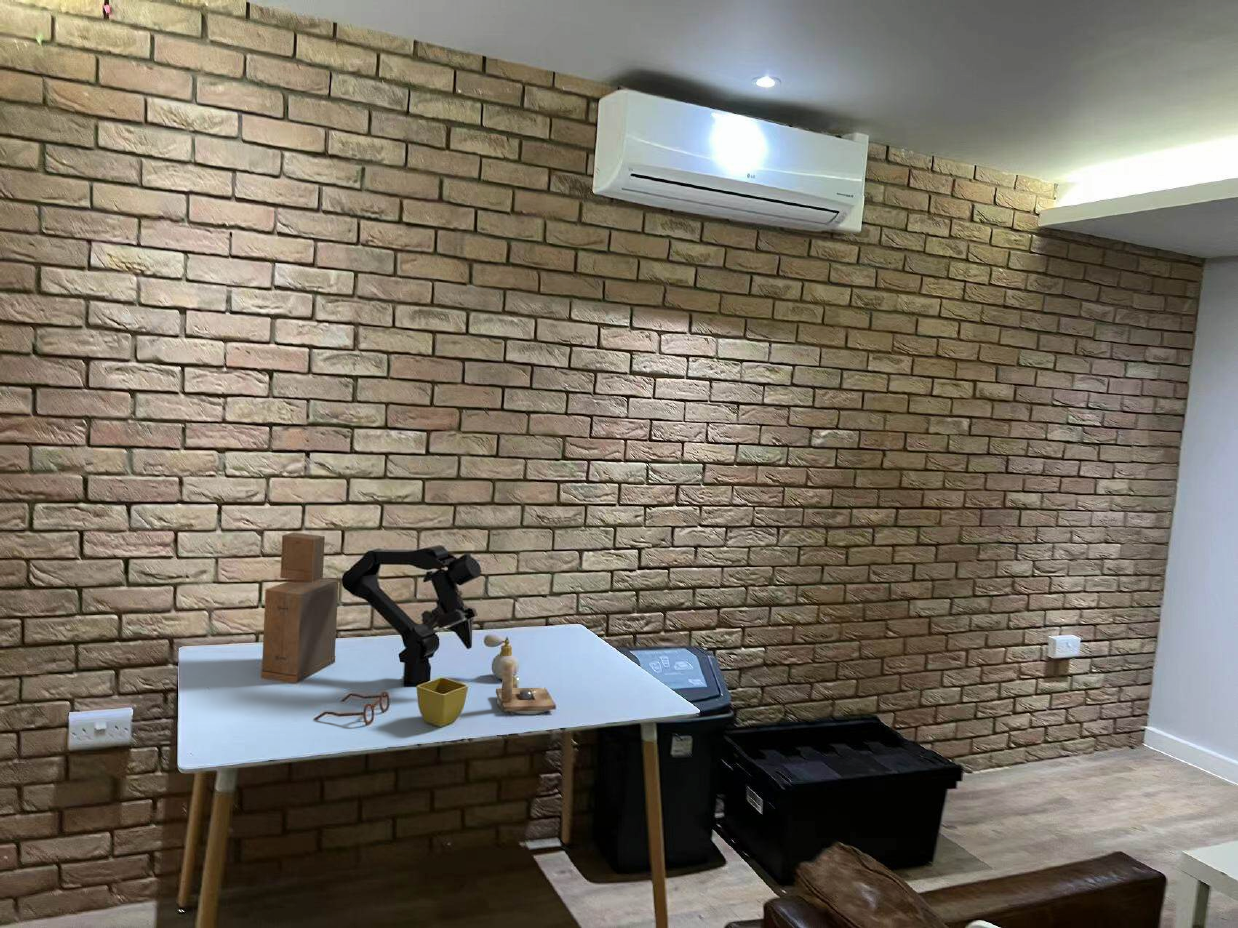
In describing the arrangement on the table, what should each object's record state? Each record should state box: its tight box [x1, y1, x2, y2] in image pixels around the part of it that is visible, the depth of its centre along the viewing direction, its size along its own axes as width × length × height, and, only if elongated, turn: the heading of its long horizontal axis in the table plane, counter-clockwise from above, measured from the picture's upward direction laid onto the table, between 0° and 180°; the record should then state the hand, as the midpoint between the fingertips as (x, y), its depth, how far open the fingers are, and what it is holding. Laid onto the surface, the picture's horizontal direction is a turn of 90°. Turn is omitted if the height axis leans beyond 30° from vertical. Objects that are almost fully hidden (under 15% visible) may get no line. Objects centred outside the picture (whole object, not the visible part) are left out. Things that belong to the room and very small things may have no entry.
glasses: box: [313, 691, 391, 726], centre depth 211 cm, size 13×13×5 cm
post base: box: [496, 676, 550, 716], centre depth 226 cm, size 14×17×4 cm
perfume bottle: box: [483, 633, 520, 680], centre depth 243 cm, size 8×10×12 cm
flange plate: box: [495, 660, 557, 712], centre depth 224 cm, size 13×13×11 cm
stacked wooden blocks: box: [260, 532, 340, 684], centre depth 237 cm, size 19×14×35 cm
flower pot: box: [415, 676, 469, 728], centre depth 209 cm, size 9×9×9 cm
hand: (469, 648), depth 228 cm, fingers closed
